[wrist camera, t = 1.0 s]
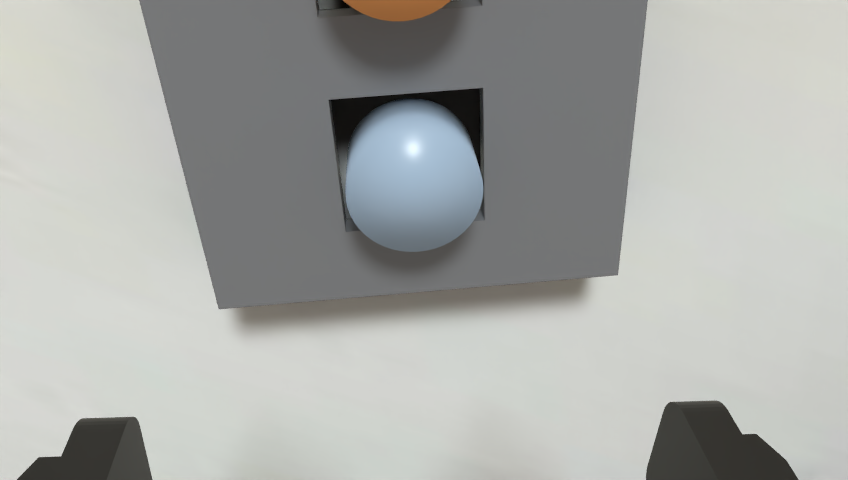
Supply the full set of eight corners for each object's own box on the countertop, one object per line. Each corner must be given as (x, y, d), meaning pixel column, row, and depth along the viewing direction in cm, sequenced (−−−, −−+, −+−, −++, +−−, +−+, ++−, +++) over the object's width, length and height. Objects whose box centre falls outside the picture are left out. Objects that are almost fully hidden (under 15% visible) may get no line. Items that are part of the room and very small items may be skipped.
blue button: (471, 93, 22) (482, 124, 20) (473, 207, 24) (483, 246, 22) (340, 103, 22) (338, 136, 20) (353, 217, 24) (353, 257, 22)
